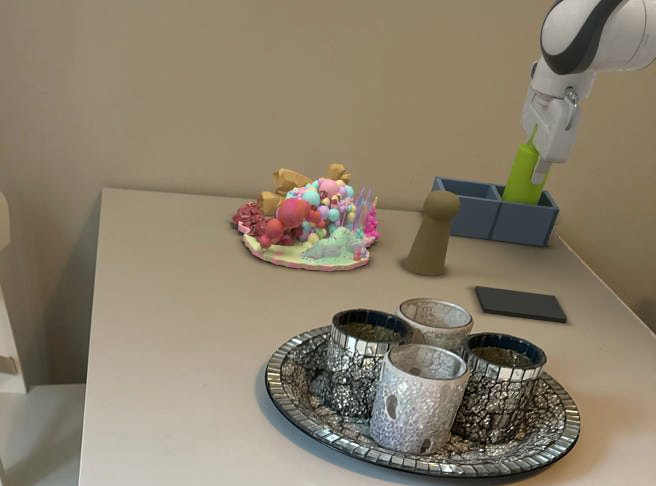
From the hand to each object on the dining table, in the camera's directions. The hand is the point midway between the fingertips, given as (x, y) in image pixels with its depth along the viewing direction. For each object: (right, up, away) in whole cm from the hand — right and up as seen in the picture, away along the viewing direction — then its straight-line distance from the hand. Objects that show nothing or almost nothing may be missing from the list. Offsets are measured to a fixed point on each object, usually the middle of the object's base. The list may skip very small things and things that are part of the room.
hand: (530, 175), depth 150 cm
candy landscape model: (-37, -13, -4) cm, 40 cm away
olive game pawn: (-20, -19, -8) cm, 29 cm away
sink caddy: (-6, -6, +6) cm, 10 cm away
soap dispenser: (-1, -7, +6) cm, 9 cm away
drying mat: (-8, -27, -16) cm, 32 cm away
